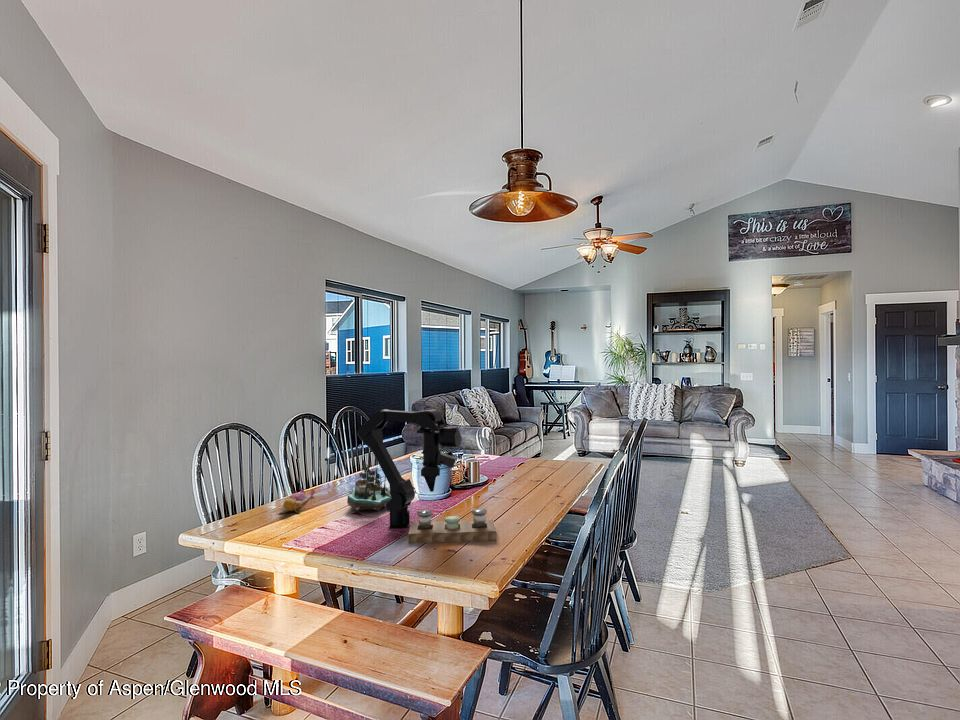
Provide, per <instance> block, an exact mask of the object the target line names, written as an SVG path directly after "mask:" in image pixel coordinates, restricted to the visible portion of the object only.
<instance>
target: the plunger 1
mask: <svg viewBox="0 0 960 720" xmlns="http://www.w3.org/2000/svg"><path fill="white" fill-rule="evenodd" d="M416 513H417V514H416V515H417V516H418V522H419V527H420V528H429V527H431V522H432V516H433V510H431V509H422V510H421V509H420V510H418V511H416Z"/></svg>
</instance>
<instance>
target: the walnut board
mask: <svg viewBox="0 0 960 720" xmlns="http://www.w3.org/2000/svg"><path fill="white" fill-rule="evenodd" d="M410 523H411V524H410V527H409V531H408V535H407V537H408V544H421V543H424V544H426V543H453V542H454V543H455V542H456V543H458V542H459V543H462V542H482V541H483V542H491V541H493V542H495V541H496V542H497V532H496V531H497V530H496V526H495V521H494V519H485V526H474V525H473V520H460V521H459V522H458V529H446V522H445V520H442V521H441V520H440V521H431V527H429V528H420V527H419V521H411V522H410Z"/></svg>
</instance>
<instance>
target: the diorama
mask: <svg viewBox="0 0 960 720" xmlns="http://www.w3.org/2000/svg"><path fill="white" fill-rule="evenodd" d="M370 465H371V463H369V464H364V467H361V471H362V472H360V473H358V476H359V478H358V480H356V481H355V485H354V486H355V488H354V489H353V488H351V491H349V493H348V495H347V499H346V500H347V505H348V506H349V507H351V508H352V509H354V510H356V511H358V512H359V511H361V512H362V511H371V510H372V511H378V512H379V511H380V510H381V509H383V508H384V507H385V508H386V504H387V503H388V502H389V501H390V500H391V499H392V498H391V495H390V487H386V485H387V484H386V481H387V478H386V476H385V475H384V481H382V480H381V479H382V475H381V474H380V473H379V472H378V471H379V468H375V470H371V469H370ZM383 482H384V483H383ZM382 483H383V485H382Z"/></svg>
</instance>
